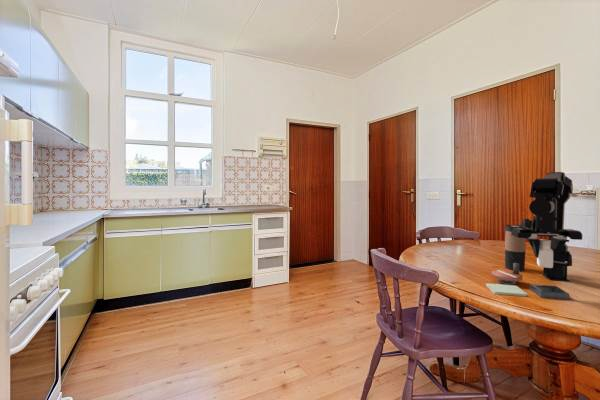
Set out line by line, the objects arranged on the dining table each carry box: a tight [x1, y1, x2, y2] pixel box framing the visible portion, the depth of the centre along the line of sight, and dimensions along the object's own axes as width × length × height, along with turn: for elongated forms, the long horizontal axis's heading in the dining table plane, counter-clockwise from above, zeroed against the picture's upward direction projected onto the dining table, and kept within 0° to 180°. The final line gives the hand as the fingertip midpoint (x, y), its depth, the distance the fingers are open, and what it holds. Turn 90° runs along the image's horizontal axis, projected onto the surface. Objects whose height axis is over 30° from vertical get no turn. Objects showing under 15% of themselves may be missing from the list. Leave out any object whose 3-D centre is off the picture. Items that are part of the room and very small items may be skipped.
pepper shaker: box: [536, 238, 553, 268], centre depth 102 cm, size 4×4×10 cm
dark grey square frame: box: [529, 283, 570, 300], centre depth 103 cm, size 8×8×2 cm
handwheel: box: [491, 263, 523, 282], centre depth 116 cm, size 10×10×5 cm
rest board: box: [485, 283, 528, 297], centre depth 107 cm, size 10×9×1 cm
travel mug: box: [504, 224, 527, 272], centre depth 133 cm, size 8×8×20 cm
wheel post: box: [496, 278, 517, 286], centre depth 116 cm, size 6×6×2 cm
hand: (544, 257), depth 102 cm, fingers closed on pepper shaker, 4 cm apart
